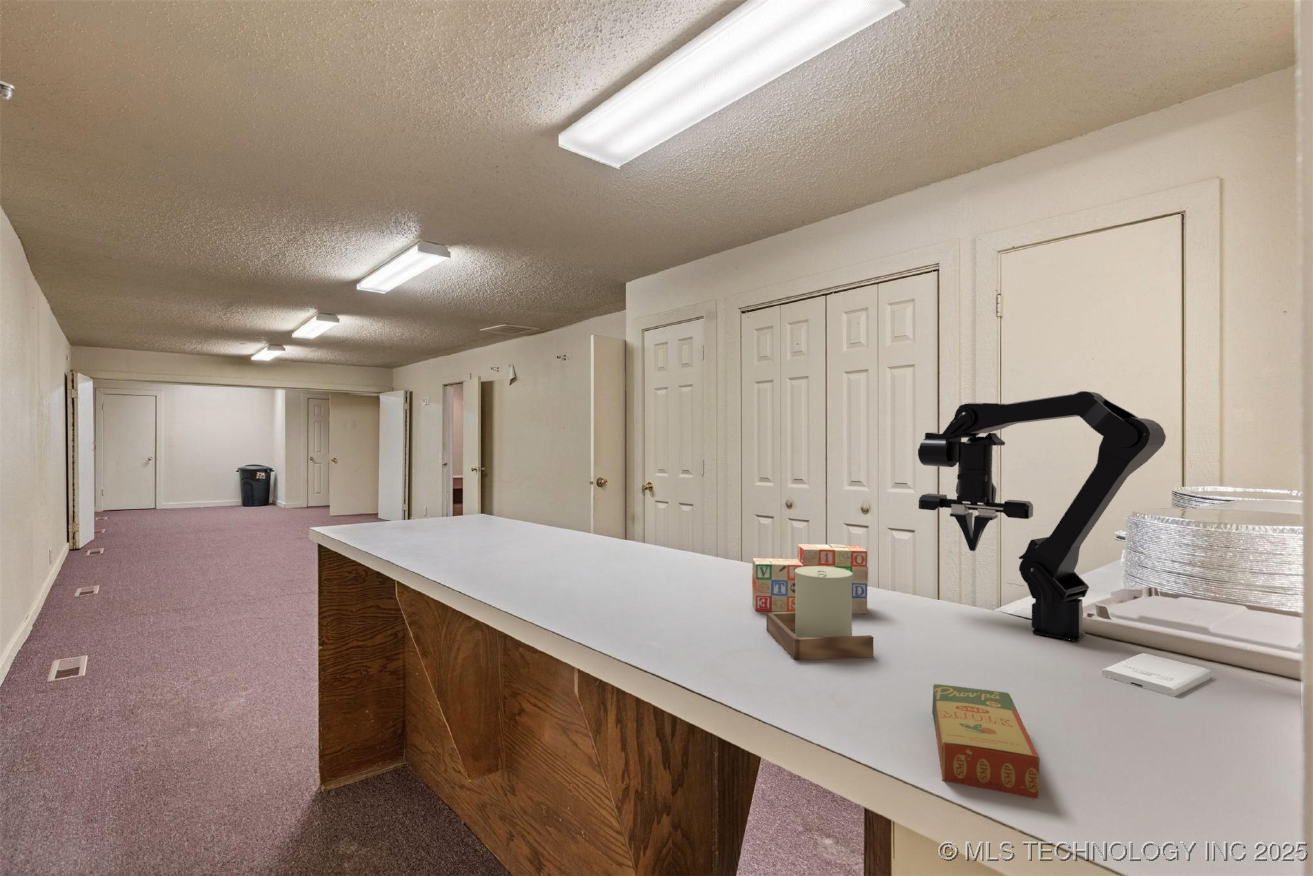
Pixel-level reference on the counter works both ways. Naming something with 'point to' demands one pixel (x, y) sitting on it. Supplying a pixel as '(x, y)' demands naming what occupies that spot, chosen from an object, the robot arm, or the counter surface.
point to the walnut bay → (815, 641)
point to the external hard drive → (1158, 674)
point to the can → (823, 602)
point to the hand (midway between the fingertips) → (972, 550)
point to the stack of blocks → (778, 575)
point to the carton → (984, 741)
